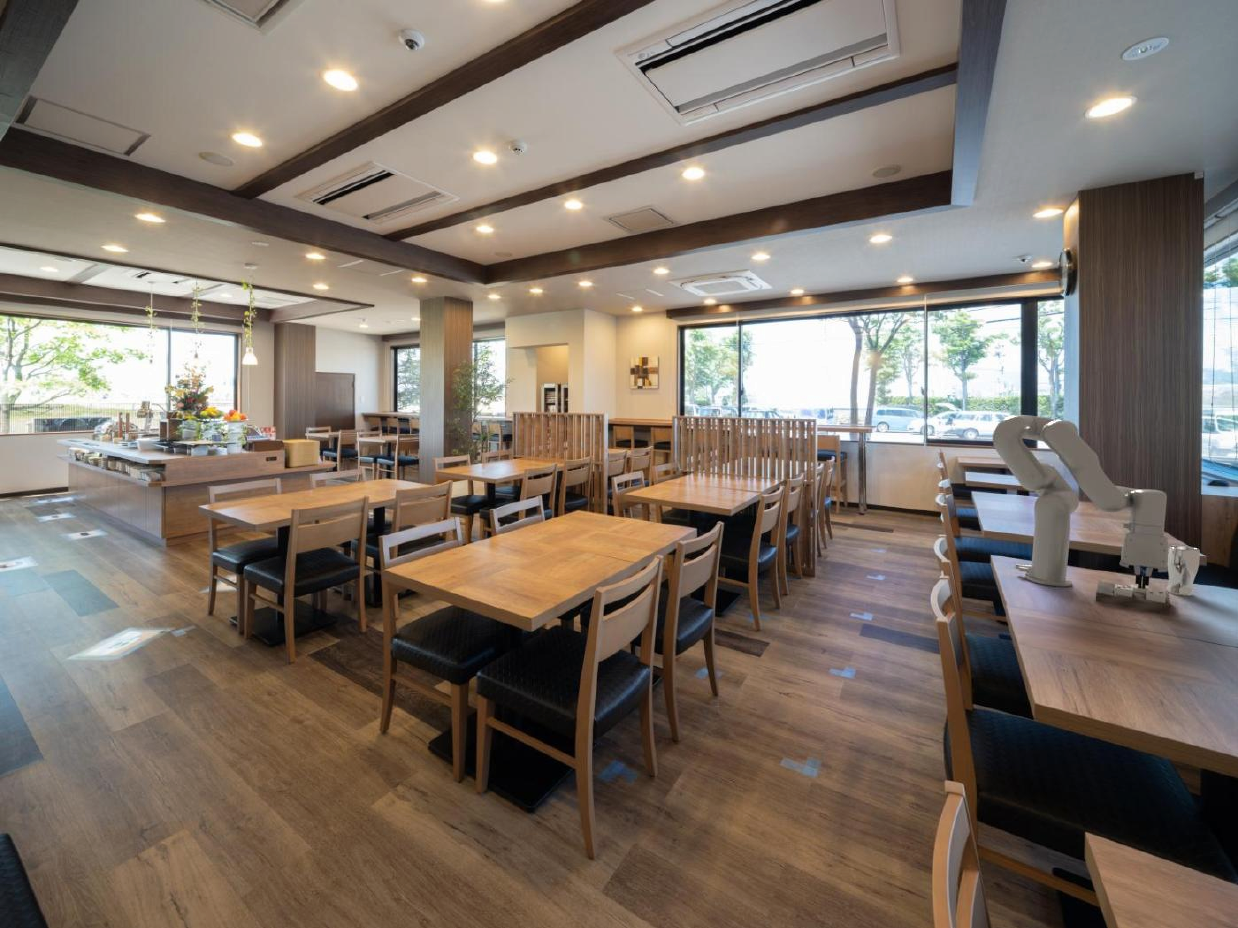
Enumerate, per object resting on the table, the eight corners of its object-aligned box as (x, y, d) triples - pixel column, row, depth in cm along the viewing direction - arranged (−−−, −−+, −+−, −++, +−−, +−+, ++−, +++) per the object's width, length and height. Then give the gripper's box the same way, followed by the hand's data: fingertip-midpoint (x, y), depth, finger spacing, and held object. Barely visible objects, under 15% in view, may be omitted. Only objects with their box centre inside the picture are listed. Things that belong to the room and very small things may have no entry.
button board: (1095, 601, 164) (1096, 592, 164) (1098, 589, 174) (1098, 581, 173) (1169, 615, 153) (1170, 605, 152) (1167, 602, 163) (1168, 592, 162)
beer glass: (1180, 589, 173) (1186, 545, 172) (1202, 597, 167) (1207, 551, 165) (1157, 588, 174) (1162, 544, 172) (1177, 596, 167) (1183, 550, 166)
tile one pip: (1129, 596, 165) (1130, 586, 164) (1129, 593, 168) (1130, 583, 167) (1147, 599, 162) (1148, 589, 162) (1147, 596, 165) (1148, 586, 164)
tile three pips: (1113, 596, 162) (1114, 586, 162) (1114, 593, 165) (1115, 583, 165) (1131, 600, 159) (1132, 590, 159) (1131, 596, 162) (1133, 586, 162)
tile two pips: (1145, 602, 157) (1146, 592, 157) (1145, 598, 160) (1146, 589, 160) (1164, 606, 155) (1166, 595, 154) (1164, 602, 157) (1165, 592, 157)
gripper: (1112, 528, 165) (1108, 584, 167) (1182, 535, 154) (1177, 595, 156) (1113, 524, 170) (1109, 579, 172) (1181, 530, 160) (1175, 589, 162)
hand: (1141, 586), depth 164 cm, fingers closed
